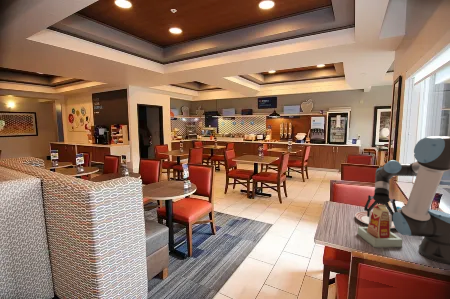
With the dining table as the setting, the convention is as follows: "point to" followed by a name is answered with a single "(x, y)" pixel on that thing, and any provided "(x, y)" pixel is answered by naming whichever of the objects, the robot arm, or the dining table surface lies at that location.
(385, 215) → the milk carton
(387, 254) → the dining table surface
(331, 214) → the dining table surface
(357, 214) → the dinner plate
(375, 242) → the carton caddy
